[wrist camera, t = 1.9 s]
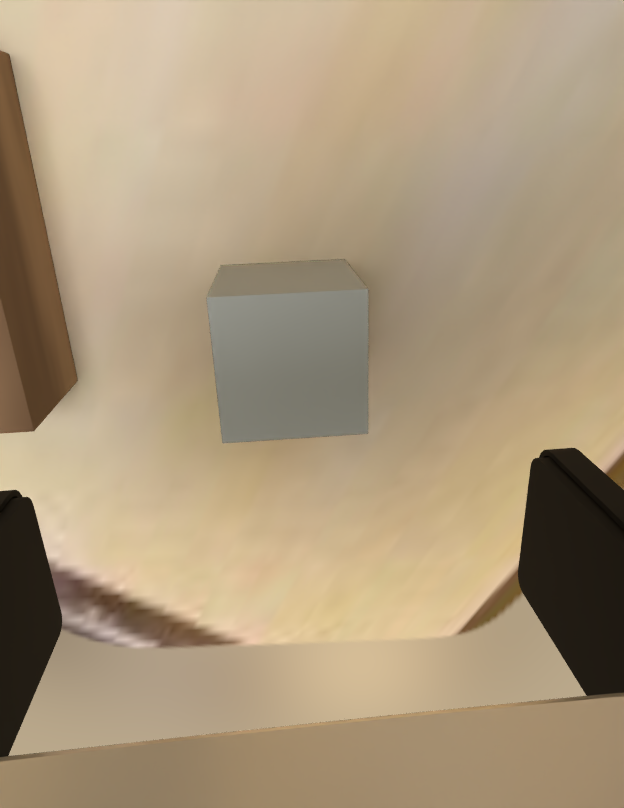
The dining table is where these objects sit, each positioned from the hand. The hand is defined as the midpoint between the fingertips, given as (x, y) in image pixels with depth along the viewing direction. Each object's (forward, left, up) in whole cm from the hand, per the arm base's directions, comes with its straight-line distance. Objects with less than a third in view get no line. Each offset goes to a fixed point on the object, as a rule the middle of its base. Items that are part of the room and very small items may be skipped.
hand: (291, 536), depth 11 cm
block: (0, 0, -15) cm, 15 cm away
